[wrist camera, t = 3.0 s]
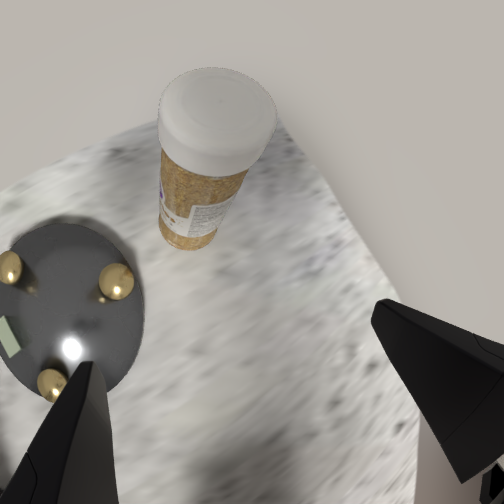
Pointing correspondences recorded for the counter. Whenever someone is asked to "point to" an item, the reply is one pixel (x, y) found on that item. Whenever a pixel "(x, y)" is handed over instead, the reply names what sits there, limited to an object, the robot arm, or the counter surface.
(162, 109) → the sprinkles bottle
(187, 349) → the counter surface
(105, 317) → the tribrach plate
